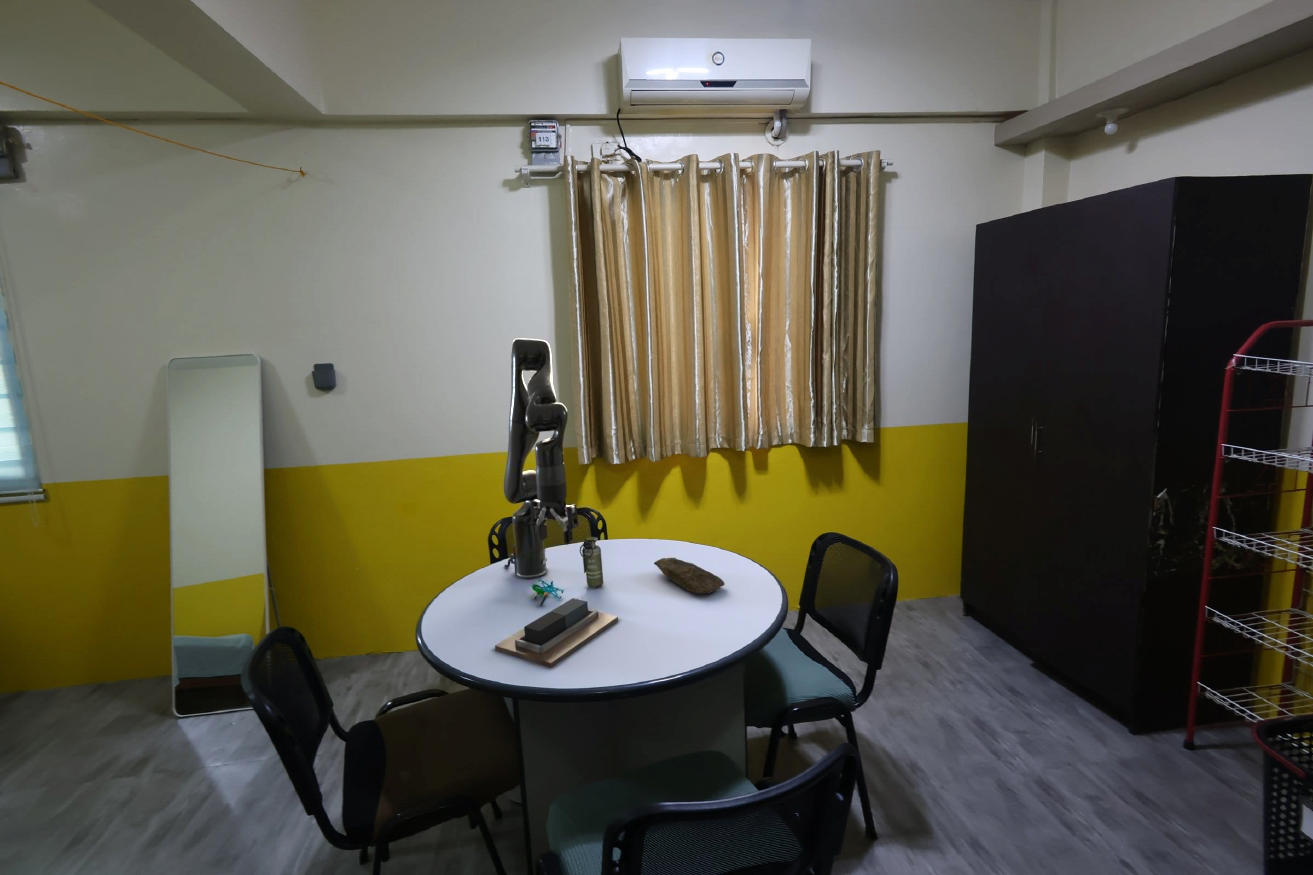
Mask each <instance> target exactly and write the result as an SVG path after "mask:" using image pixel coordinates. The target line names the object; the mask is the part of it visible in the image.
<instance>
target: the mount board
mask: <svg viewBox="0 0 1313 875" xmlns="http://www.w3.org/2000/svg"><path fill="white" fill-rule="evenodd" d="M618 621H619V616H617V615H613V614H608V613H606V612H605V613H604V612H600V611H598V610H596V609H590V608H588V616H587V617H585V618H583V619H582V620H580V621H579V622H577V623H576V624H574V625H573V626H571V627H570V628H568V629H566V630H565V631H563V632H562V633H560V634H559V635H557V636H556V637H554V638H553V639H551V640H549V641H548V642H546V643H545V644H543V645H542V646H540V645H537V644H533V643H530V642H527V641H525V631H524V628H522V629H521V630H519V631H517V632H515V633H513V634H512V635H510V636H509V637H507V638H505V639H503V640H502V641H500V642H499V643H496V644H495V645H494V650H495V651H497V652H500V653H503V654H507V655H510V656H512V657H515V658H519V659H522V660H525V661H528V662H531V663H535V664H538V665H540V666H544V667H547V668H550V669H552V668H553V667H555V666H556V665H558V664H559V663H560V662H562V661H563V660H564V659H566V658H568V657H569V656H570V655H572V654H573V653H574V652H576V651H578V650H579V649H580V648H582V647H583V646H584V645H586V644H587V643H589V642H590V641H591V640H593V639H595V638H596V637H597V636H599V635H600V634H602V633H603V632H605V631H606V630H607V629H609V628H610V627H611V626H613V625H615V624H616V623H617V622H618Z"/></svg>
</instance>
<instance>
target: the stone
mask: <svg viewBox="0 0 1313 875" xmlns="http://www.w3.org/2000/svg"><path fill="white" fill-rule="evenodd" d="M653 565H655V566H656V567H657V568H658V569H659V570H660V571H661V573H662V574H663V575H664V576H665V577H667V578H668V580H670V581H672V582H674V583H675V584H677V585H679V586H680V587H682V589H684V590H686V591H689V592H691V593H692V594H710V593H713V592H715V591H718V590H720V589H721V587H723V586H725V585H726V584H725V582H724V580H722V578H720V577H719V576H717V575H716V574H714V573H712V572H711V571H708V570H706V569H703V568H702V567H700V566H698V565H696V564H695V563H692V562H688V561H684V560H682V559H678V558H676V557H662V558H660V559H657V560H655V561H654V562H653Z"/></svg>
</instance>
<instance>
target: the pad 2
mask: <svg viewBox="0 0 1313 875" xmlns="http://www.w3.org/2000/svg"><path fill="white" fill-rule="evenodd" d="M588 609H589V604H588V600H582V599H579V598H575V597H574V598H573V597H572V598H571V599H569V600H567V601H565V602H564V603H562V604H559V606H557V607H555V608H553V609H551V610H550V611H549V612H551V613H555V614H559V615H563V616H564V618H565V630H566V629H568V628H570V627H571V626H573V625H574V624H576V623H577V622H579V621H580V620H582V619H583V618H585V617H587V616H588Z"/></svg>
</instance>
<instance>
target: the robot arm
mask: <svg viewBox="0 0 1313 875" xmlns="http://www.w3.org/2000/svg"><path fill="white" fill-rule="evenodd" d="M510 350H511V351H510V368H511V369H510V375H511V376H510V377H511V378H510V380H511V381H510V382H511V383H510V384H511V386H510V388H511V389H510V402H509V404H510V405H509V415H508V416H509V417H508V444H507V456H506V457H507V458H506V464H505V469H504V470H505V471H504V476H503V494H504V497H505V499H506V501H507V502H508V503H509V504H511V505H514V504H515V505H516V504H521V503H522V505H520V507H519V508H518V509H517V510H516V511H514V512H513V514H512V516H511V522H512V532H513V543H514V544H513V545H512V553H510V554H509V559H508V560H507V564H503V565H504V566H503V567H504V568H507V569H508V568H510V566H511V565H513V567H514V575H516V576H517V577H518V578H520V579H535V578H539V577H541V576H544V575H546V574H547V572H548V569H547V561H548V557H546V547H545V540H546V539H547V538H548V528H547V526H548V524H546V523H547V521H548V520H552V521H556V522H557V523H558V525H560V526H561V528H562V529H563V544H564V545H567V546H568V545H569V544H572V542H573V540H574V537H573V530H574V529H576V528H578V527H579V517H578V509H577V505H576V504H575V503H573V504H571V505H569V504H567V502H566V501H567V497H568V488H567V474H566V473H567V472H566V468H565V459H564V458H565V457H564V439H565V433H566V428H567V424H568V420H569V413H568V409H567V407H566V406H565V405H564V404H563V403H562V402H557V396H556V392H555V388H554V384H553V362H552V350H551V346H550V343H548V341H546V340H544V339H537V338H536V339H534V338H515V339H514V340H513V341H512V343H511V349H510ZM523 372H535V373H534V374H532V375H531V377H530V378H529V380H528V382H527V385H526V383H525V381H524V377H523V376H524V375H523ZM543 432H553V434H552V435H551V436H550V437H548V438H546V439H543V440H540V441H538V439H539V437H540V433H543ZM533 448H534V454H535V456H534V457H535V470H534V469H533V470H532V469H530V470H524V467H525V464H526V460H527V458H528V457H529V455H530V454H531V452H532V450H533Z"/></svg>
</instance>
